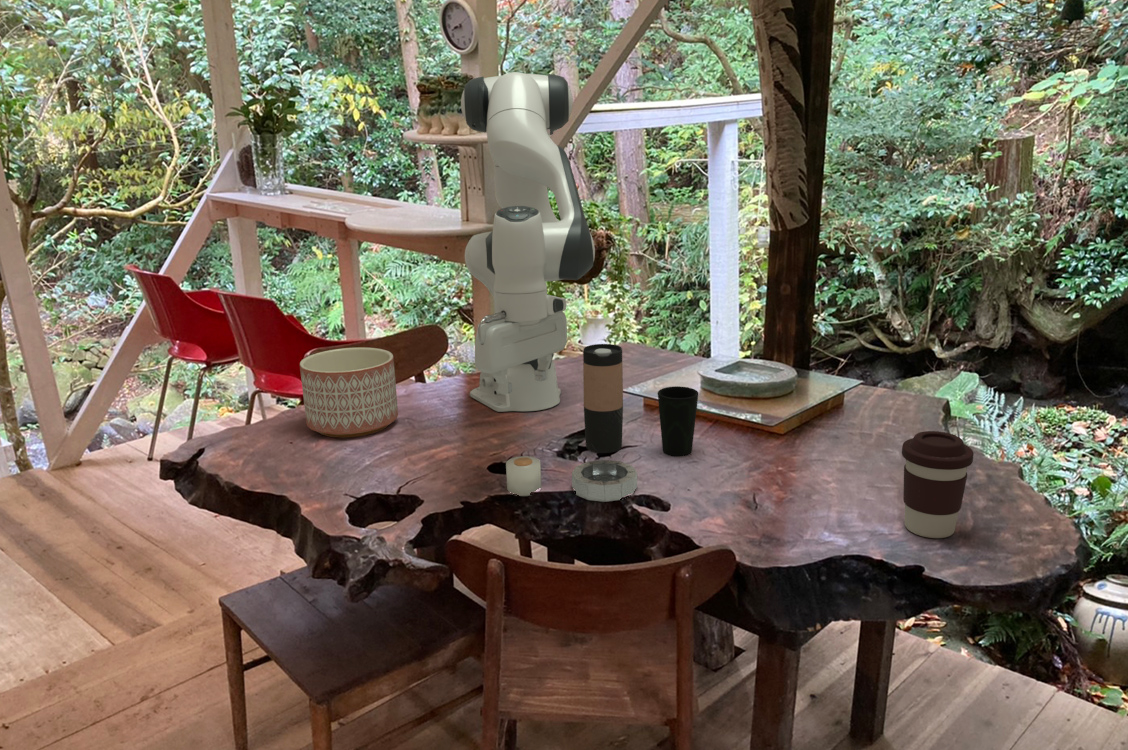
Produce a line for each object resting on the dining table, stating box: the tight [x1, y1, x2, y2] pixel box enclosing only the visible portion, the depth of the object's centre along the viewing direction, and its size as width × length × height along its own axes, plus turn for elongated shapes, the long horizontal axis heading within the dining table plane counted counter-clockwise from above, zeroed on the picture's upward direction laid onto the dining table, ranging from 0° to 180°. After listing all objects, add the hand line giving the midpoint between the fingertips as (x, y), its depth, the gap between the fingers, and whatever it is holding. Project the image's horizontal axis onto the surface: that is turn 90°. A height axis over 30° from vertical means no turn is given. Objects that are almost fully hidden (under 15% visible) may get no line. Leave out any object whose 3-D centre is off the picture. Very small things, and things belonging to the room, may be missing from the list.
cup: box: [657, 385, 699, 458], centre depth 167 cm, size 8×8×12 cm
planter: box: [299, 346, 399, 439], centre depth 186 cm, size 19×19×15 cm
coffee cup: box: [901, 430, 975, 539], centre depth 134 cm, size 10×10×15 cm
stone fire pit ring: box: [571, 459, 638, 503], centre depth 153 cm, size 11×11×3 cm
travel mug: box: [582, 343, 624, 454], centre depth 170 cm, size 8×8×20 cm
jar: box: [505, 455, 542, 497], centre depth 153 cm, size 6×6×5 cm
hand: (523, 386), depth 149 cm, fingers open, 8 cm apart
